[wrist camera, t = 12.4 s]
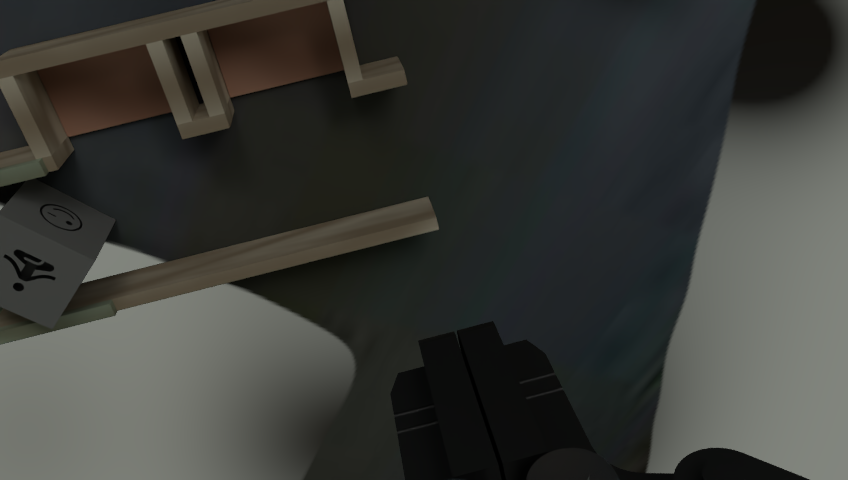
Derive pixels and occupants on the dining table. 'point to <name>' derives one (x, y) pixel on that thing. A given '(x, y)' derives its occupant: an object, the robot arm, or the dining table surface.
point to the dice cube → (46, 250)
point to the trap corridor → (189, 126)
